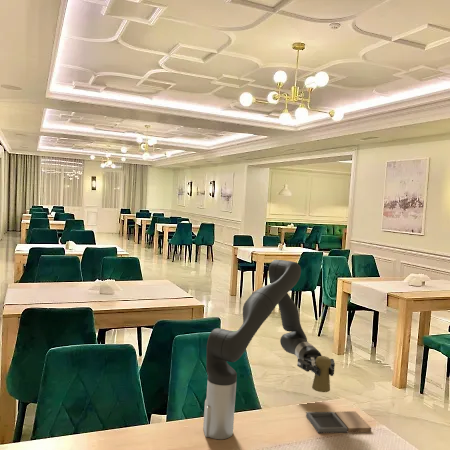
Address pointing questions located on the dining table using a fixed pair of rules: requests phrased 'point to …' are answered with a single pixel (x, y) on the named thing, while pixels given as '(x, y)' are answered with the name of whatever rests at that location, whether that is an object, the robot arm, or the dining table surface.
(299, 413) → the dining table surface
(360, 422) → the light brown wooden board
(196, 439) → the dining table surface
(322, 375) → the cork
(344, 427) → the shallow grey tray
